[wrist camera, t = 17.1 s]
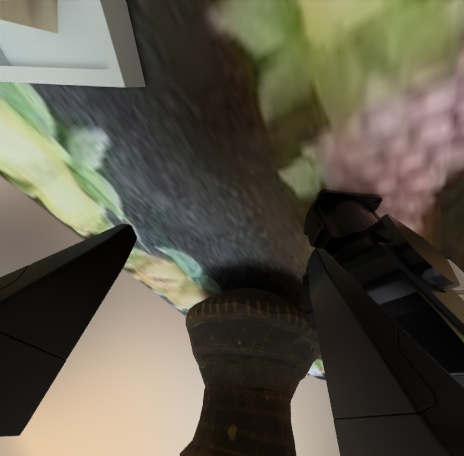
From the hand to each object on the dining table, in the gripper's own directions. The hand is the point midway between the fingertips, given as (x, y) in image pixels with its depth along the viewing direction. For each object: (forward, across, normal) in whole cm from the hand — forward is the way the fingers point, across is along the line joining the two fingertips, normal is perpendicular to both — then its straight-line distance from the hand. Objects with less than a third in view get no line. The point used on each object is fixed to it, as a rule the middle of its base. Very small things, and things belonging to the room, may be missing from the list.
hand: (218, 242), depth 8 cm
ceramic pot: (+13, -4, +29) cm, 32 cm away
